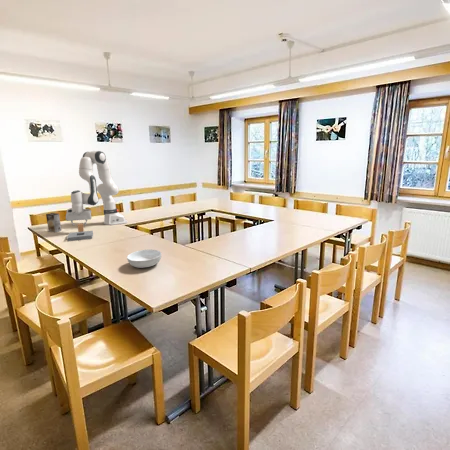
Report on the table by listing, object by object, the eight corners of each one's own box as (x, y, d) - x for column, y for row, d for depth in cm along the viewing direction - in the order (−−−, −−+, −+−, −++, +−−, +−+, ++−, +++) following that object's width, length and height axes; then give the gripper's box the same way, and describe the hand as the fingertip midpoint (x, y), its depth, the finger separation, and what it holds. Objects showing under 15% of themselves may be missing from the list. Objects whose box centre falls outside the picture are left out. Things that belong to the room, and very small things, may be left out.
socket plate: (93, 233, 259) (92, 230, 259) (92, 238, 245) (91, 235, 244) (70, 236, 253) (69, 232, 253) (67, 241, 239) (67, 237, 238)
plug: (84, 231, 267) (82, 222, 265) (83, 233, 263) (82, 224, 261) (79, 232, 266) (78, 223, 264) (78, 233, 261) (77, 224, 259)
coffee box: (48, 231, 269) (45, 214, 265) (54, 229, 275) (51, 212, 271) (55, 232, 266) (53, 214, 262) (61, 230, 272) (59, 213, 268)
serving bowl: (135, 258, 199) (134, 248, 198) (166, 259, 197) (165, 249, 196) (122, 271, 179) (121, 260, 178) (156, 272, 177) (155, 261, 176)
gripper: (91, 208, 265) (92, 223, 268) (65, 209, 258) (67, 225, 262) (90, 209, 259) (92, 224, 263) (64, 210, 253) (66, 226, 256)
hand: (79, 225), depth 262 cm, fingers open, 8 cm apart
